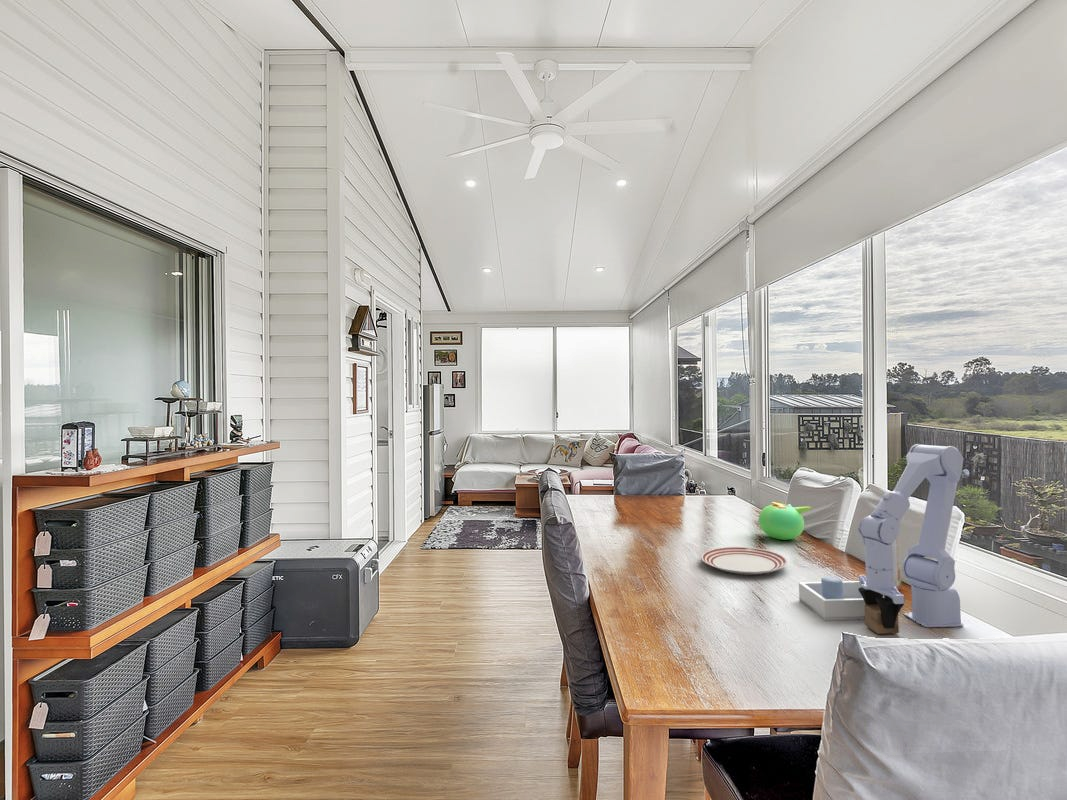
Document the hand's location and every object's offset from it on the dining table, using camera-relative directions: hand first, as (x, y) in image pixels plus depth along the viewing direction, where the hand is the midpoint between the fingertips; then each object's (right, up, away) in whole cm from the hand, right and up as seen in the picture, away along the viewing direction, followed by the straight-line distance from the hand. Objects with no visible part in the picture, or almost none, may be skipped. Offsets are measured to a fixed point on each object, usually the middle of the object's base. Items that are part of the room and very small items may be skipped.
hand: (881, 622), depth 132 cm
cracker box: (+17, -2, +25) cm, 30 cm away
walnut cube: (0, -2, 0) cm, 2 cm away
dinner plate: (-13, -3, +53) cm, 55 cm away
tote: (-1, -2, +14) cm, 14 cm away
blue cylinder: (-4, -1, +14) cm, 15 cm away
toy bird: (+16, -2, +87) cm, 88 cm away
